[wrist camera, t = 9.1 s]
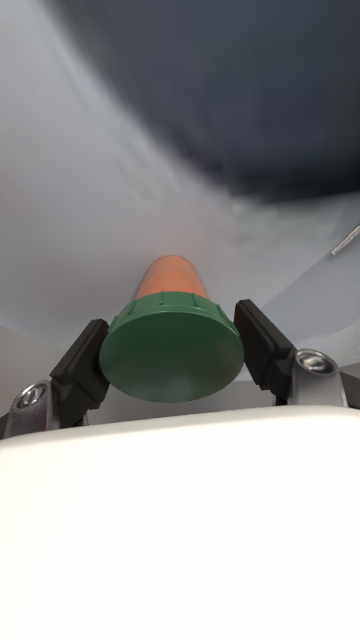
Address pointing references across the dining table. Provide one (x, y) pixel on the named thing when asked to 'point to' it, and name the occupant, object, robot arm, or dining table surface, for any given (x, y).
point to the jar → (171, 277)
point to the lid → (171, 348)
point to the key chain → (347, 240)
